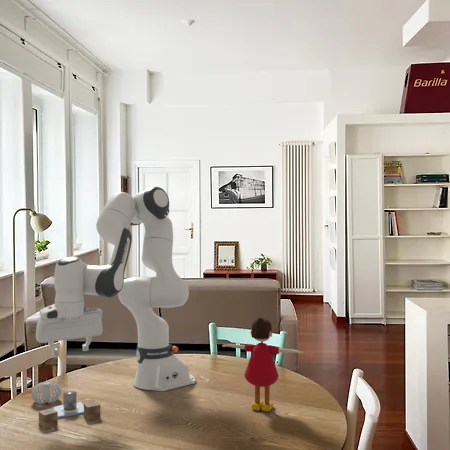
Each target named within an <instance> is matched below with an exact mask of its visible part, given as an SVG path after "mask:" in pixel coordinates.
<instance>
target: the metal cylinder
mask: <svg viewBox="0 0 450 450" xmlns="http://www.w3.org/2000/svg"><path fill="white" fill-rule="evenodd" d="M77 393H78V392H77V391H76V390H66V391H64V392H63V396H62V397H63V404H62V405H63V410H65V411H72V410H75V409H76V408H77V402H78V400H77Z"/></svg>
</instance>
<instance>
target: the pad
mask: <svg viewBox="0 0 450 450" xmlns="http://www.w3.org/2000/svg"><path fill="white" fill-rule="evenodd" d="M51 408H52V409H54V410H55V411H57V412H58V419H62V418H69V417H73V416H78V415H79V416H80V415H84V403H82V402H81V401H77V408H76V409H75V410H72V411H65V410H63V404H61V405H60V404H59V405H55V406H51Z"/></svg>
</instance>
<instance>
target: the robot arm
mask: <svg viewBox="0 0 450 450" xmlns="http://www.w3.org/2000/svg"><path fill="white" fill-rule="evenodd" d="M169 199H170V198H169V195H168V193H167V192H166V191H165V189H164V188H162V187H160V186H152V187H148V188H146V189H145V190H143V191H142V190H141V191H139V192H138V193H136V194H135V195H133V196H132V195H131V194H130V193H127V192H124V191H118V192H115V193H114V194H112V196H111V197H110V198H109V199H108V200H107V202H106V204H105V205H104V206H103V208H102V210H101V212H100V213H99V216H98V217H97V221H96V223H95V224H96V231H97V234H98V235H99V236H100V238H101V239H102V240H104V241H105V242H106V243H109V244H111V245H113V246H114V247H113V251H112V255H111V258H110V261H109V263H108V264H105V265H94V264H87V263H86V262H83V261H82V258H80V257H78V256H68V257H61V258H60V259H59V260H57V262H56V264H55V268H54V278H53V279H54V283H53V284H54V285H53V286H54V291H55V298H54V303H53V304H50V305H47V306H45V307H43V308H41V309H39V318H38V320H37V321H36V322H37V323H36V328H35V329H36V330H35V339H36V342H38V343H39V344H48V345H49V348H50V349H51V355H52V356H58V355H59V350H58V348H55V347H54V346H53V345H55V342H60V341H69V340H77V339H81V338H85V339H86V342H85V343H83V344H82V345H81V346H82V351H83V352H88V351H89V346H90V344H91V343H92V341H93V337H97V336H98V337H99V336H101V335H102V334H103V332H104V329H103V321H102V319H103V316H104V315H103V313H104V312H103V309H102V308H100V307H98V306H93V307H92V306H88V307H87V306H86V307H85V297H84V295H89V296H100V297H104V298H109V299H110V298H114V297H116V296H117V298H118V300H119V301H120V303H121V304H122V305H123V306H124V307H125V308H127V310H129V312H130V313H131V314H132V315H133V318H134V320H135V323H136V328H137V345H136V362H137V365H136V366H137V367H136V373H135V376H134V377H135V378H134V381H133V386H134V387H135V388H136V389H140V390H145V391H147V390H149V391H156V392H166V391H169V390H174V389H177V388H181V387H184V386H188V385H193V384H196V378H195V376H194V375H192V374H191V373H190V370H189V366H188V364H187V363H186V362H185V361H184V360H182V358H180V357H178V356H177V355H176V354H174V353H177V352H178V351H179V347H178V346H177V345H173V344H170V343H169V340H170V339H169V338H170V336H169V328H170V327H169V323H168V322H167V320H165V319H164V318H162V317H161V316H159V315H157V314H156V313H155V312H154V310H153V308H160V309H161V308H162V309H163V308H164V309H165V308H166V309H171V308H178V307H181V306H184V305H185V304H186V302H187V301H188V299H189V296H190V289H189V286H188V284H187V282H186V280H184V279H183V278H182V277H180V276H179V274H178V273H177V272H176V270H175V267H174V265H173V246H174V245H173V244H174V227H173V222H172V220H171V219H170V218H169V217H167V216H168V215H169V213H170V200H169ZM141 224H143V225H144V237H143V244H142V252H141V262H142V264H143V265H144V266H145V267H146V268H148V269H150V270H152V271H153V272H155V273H156V274H155V276H135V277H128V278H125V274H126V273H125V272H126V268H127V264H128V260H129V255H130V251H131V246H132V237H133V236H132V232H131V231H130V230H129V228H130V226H133V227H134V226H140V225H141Z"/></svg>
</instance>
